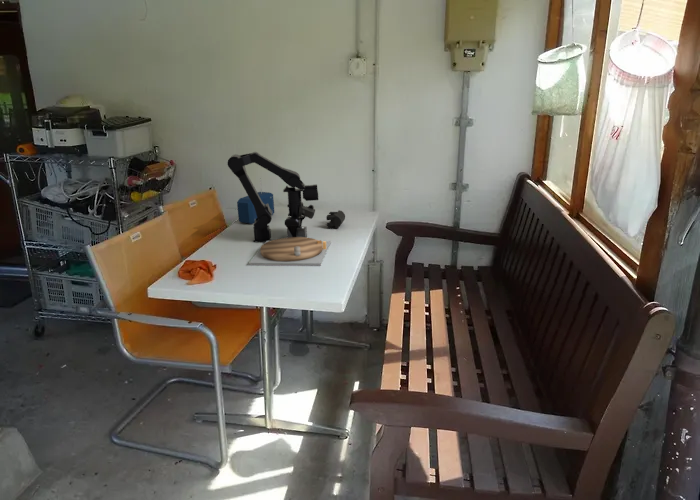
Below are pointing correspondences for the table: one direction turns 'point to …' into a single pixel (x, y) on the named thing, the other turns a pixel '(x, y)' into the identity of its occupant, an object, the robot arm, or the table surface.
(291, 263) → the base plate
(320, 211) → the table surface
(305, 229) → the steel link block
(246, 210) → the radio
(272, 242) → the round wooden board
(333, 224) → the end cap
